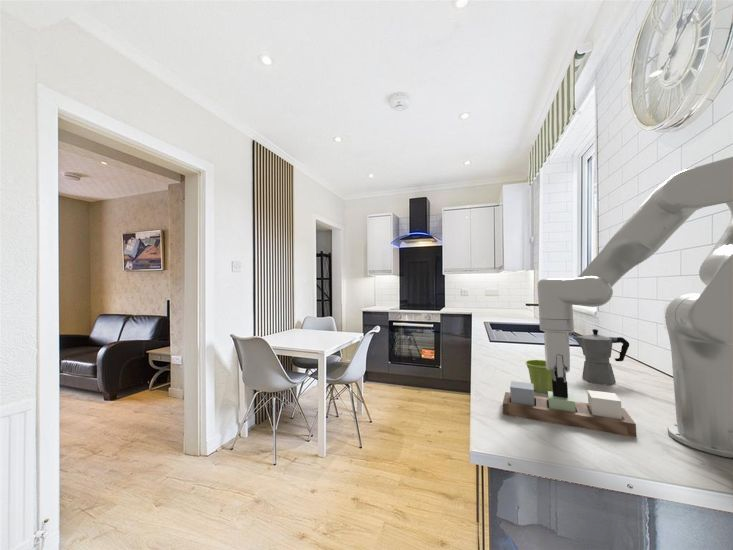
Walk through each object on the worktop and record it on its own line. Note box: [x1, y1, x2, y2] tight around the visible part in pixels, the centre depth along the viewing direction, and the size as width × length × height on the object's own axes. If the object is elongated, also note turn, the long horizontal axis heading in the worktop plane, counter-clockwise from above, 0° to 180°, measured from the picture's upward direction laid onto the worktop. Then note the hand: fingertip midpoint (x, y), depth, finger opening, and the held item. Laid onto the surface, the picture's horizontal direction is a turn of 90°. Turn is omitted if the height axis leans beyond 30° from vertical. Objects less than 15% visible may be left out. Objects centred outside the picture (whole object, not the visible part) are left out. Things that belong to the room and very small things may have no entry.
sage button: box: [547, 391, 576, 412], centre depth 75 cm, size 6×6×5 cm
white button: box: [587, 389, 623, 419], centre depth 71 cm, size 6×6×5 cm
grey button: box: [509, 380, 535, 406], centre depth 79 cm, size 6×6×5 cm
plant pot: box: [524, 359, 553, 394], centre depth 94 cm, size 9×9×9 cm
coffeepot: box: [572, 328, 630, 385], centre depth 101 cm, size 15×9×18 cm, turn 56°
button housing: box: [502, 391, 638, 438], centre depth 75 cm, size 27×9×3 cm, turn 60°
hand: (560, 395), depth 75 cm, fingers closed
